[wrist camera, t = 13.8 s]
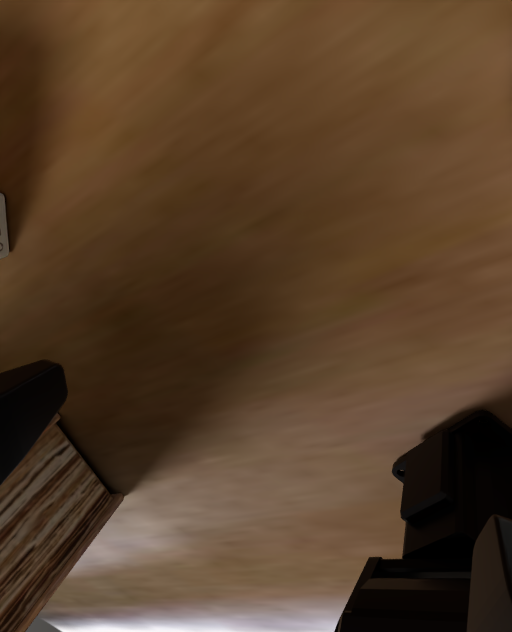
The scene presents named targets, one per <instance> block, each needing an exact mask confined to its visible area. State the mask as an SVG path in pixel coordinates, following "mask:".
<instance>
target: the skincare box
mask: <svg viewBox="0 0 512 632" xmlns="http://www.w3.org/2000/svg"><path fill="white" fill-rule="evenodd" d="M8 255H9V243H8V233H7V222H6V208H5V197H4V195H3V194H2V193H0V259H2V258H4V257H7V256H8Z"/></svg>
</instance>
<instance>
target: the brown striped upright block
mask: <svg viewBox="0 0 512 632" xmlns="http://www.w3.org/2000/svg"><path fill="white" fill-rule="evenodd" d="M59 419H60V415H59V414H58V413H57V414H56V415H55V416H54V418H53V419H52V421H51V422H50V423H49V425H48V426H47V428H46V429H45V430H44V432H43V433H42V435H41V436H40V437H39V439H38V440H37V441H36V443H35V444H34V446H33V447H32V448H31V450H30V451H29V452H28V454H27V455H26V456H25V458H24V459H23V460H22V461H21V462H20V464H19V465H18V466H17V467H16V468H15V470H14V471H13V472H12V473H11V474H10V475H9V476H8V478H7V479H6V480H5V481H4V482H3V483H2V484H1V486H0V632H25V631H26V630H27V628H28V627H29V626H30V624H31V623H32V622H33V620H34V619H35V617H36V616H37V615H38V614H39V612H40V611H41V610H42V608H43V607H44V606H45V604H46V603H47V602H48V600H49V599H50V598H51V596H52V595H53V594H54V592H55V591H56V590H57V588H58V587H59V585H60V584H61V583H62V581H63V580H64V579H65V577H66V576H67V575H68V573H69V572H70V571H71V569H72V568H73V567H74V565H75V564H76V563H77V561H78V560H79V559H80V557H81V556H82V555H83V553H84V552H85V551H86V549H87V548H88V547H89V545H90V544H91V543H92V541H93V540H94V538H95V537H96V536H97V534H98V533H99V532H100V530H101V529H102V528H103V526H104V525H105V524H106V522H107V521H108V520H109V518H110V517H111V516H112V514H113V513H114V512H115V510H116V509H117V508H118V506H119V505H120V504H121V502H122V501H123V499H124V496H123V495H122V493H118V494H110V493H109V492H108V490H107V489H106V488H105V486H104V485H103V484H102V483H101V481H100V480H99V479H98V477H97V476H96V475H95V473H94V472H93V471H92V470H91V468H90V467H89V466H88V464H87V463H86V462H85V460H84V459H83V458H82V457H81V455H80V454H79V453H78V451H77V450H76V449H75V447H74V446H73V445H72V444H71V442H70V441H69V440H68V438H67V437H66V436H65V434H64V433H63V432H62V431H61V429H60V428H59V427H58V425H57V424H56V422H57V421H58V420H59Z"/></svg>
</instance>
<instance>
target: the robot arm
mask: <svg viewBox="0 0 512 632" xmlns="http://www.w3.org/2000/svg"><path fill="white" fill-rule="evenodd" d="M67 395H68V389H67V384H66V379H65V374H64V369H63V367H62V365H60V364H59V363H56V362H53V361H50V360H40V361H37V362H34V363H31V364H27V365H24V366H21V367H18V368H15V369H12V370H9V371H6V372H3V373H0V486H1V484H2V483H3V482H4V481H5V480H6V479H7V478H8V476H9V475H10V474H11V473H12V472H13V471H14V470H15V468H16V467H17V466H18V465H19V464H20V462H21V461H22V460H23V459H24V458H25V456H26V455H27V454H28V452H29V451H30V450H31V448H32V447H33V446H34V444H35V443H36V441H37V440H38V439H39V437H40V436H41V435H42V433H43V432H44V430H45V429H46V428H47V426H48V425H49V423H50V422H51V421H52V419H53V418H54V416H55V415H56V414H57V412H58V411H59V409H60V408H61V407H62V405H63V404H64V402H65V401H66V398H67ZM480 420H486V421H488V422H485V423H481V422H479V421H480ZM401 470H404V471H401ZM392 473H393V475H394V476H395V477H396V478H397V479H398V480H400V481H401V482H402V483H403V484H404V485H403V493H402V502H401V510H400V513H401V518H402V519H403V520H404V521H405V522H406V527H405V536H404V546H403V555H402V558H403V559H383V558H382V557H369V559H368V561H367V563H366V565H365V567H364V569H363V571H362V573H361V575H360V577H359V579H358V581H357V583H356V586H355V588H354V590H353V592H352V594H351V596H350V598H349V600H348V602H347V604H346V606H345V608H344V610H343V613H342V615H341V617H340V619H339V621H338V623H337V626H336V629H335V632H512V429H511V428H510V427H508V426H507V425H506V424H505V423H503V422H502V421H501V420H500V419H498V418H497V417H496V416H495V415H493V414H492V413H490V412H488V411H485V410H479V411H476V412H474V413H473V414H471V415H469V416H468V417H466V418H465V419H463V420H461V421H460V422H458V423H457V424H455V425H453V426H452V427H450V428H449V429H447V430H442V431H440V432H438V433H437V434H435V435H434V436H432V437H430V438H429V439H427V440H426V441H424V442H423V443H421V444H419V445H418V446H416V447H415V448H413V449H411V450H410V451H408V453H407V455H406V456H404V457H402V458H401V459H399V460H398V461H396V462H395V463H394V464H393V468H392Z"/></svg>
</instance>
